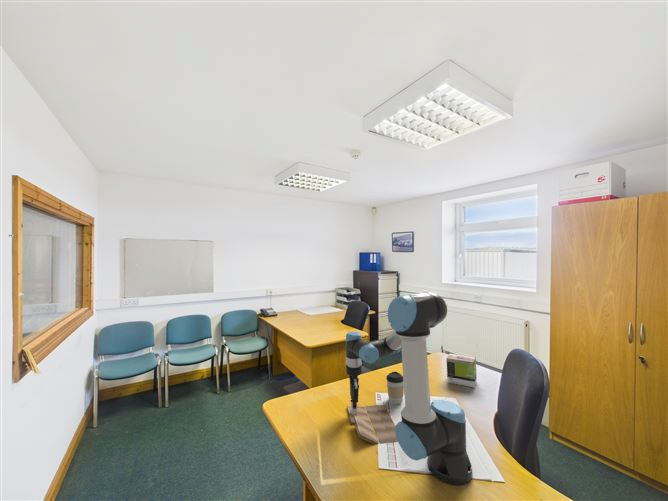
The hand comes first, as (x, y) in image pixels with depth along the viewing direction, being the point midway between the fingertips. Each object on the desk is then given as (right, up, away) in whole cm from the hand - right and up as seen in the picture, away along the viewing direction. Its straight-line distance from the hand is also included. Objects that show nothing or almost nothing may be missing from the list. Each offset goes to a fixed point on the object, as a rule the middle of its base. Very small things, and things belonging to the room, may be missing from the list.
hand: (354, 413), depth 137 cm
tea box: (+67, 0, +33) cm, 74 cm away
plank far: (+2, -1, 0) cm, 3 cm away
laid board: (+13, -2, -6) cm, 14 cm away
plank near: (+4, 0, -14) cm, 14 cm away
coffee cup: (+23, -2, +12) cm, 26 cm away
